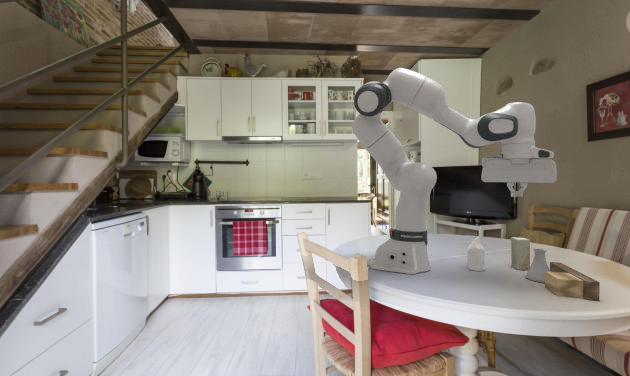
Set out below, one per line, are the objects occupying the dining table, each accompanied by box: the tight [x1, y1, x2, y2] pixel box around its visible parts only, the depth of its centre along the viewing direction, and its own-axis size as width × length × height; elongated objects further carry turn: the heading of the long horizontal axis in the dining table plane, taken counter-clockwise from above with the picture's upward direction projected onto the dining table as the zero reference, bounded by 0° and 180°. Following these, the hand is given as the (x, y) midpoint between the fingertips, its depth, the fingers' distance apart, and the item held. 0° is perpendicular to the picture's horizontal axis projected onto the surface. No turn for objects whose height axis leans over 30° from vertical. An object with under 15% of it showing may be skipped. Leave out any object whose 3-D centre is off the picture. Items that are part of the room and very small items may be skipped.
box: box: [510, 236, 531, 271], centre depth 109 cm, size 5×4×11 cm
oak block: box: [544, 271, 584, 299], centre depth 85 cm, size 6×7×5 cm
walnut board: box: [549, 261, 601, 302], centre depth 89 cm, size 3×20×5 cm, turn 164°
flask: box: [525, 248, 550, 284], centre depth 96 cm, size 7×7×10 cm
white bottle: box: [466, 236, 485, 272], centre depth 108 cm, size 6×12×6 cm
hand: (516, 196), depth 95 cm, fingers closed
